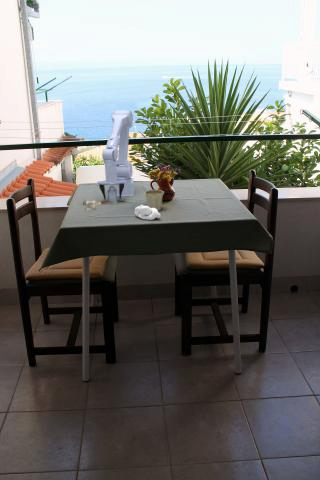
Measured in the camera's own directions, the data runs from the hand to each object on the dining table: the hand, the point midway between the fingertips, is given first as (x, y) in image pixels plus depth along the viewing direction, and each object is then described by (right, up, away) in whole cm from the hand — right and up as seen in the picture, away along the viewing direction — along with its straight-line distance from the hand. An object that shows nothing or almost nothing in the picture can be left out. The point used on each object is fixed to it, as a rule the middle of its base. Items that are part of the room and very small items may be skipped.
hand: (112, 198), depth 253 cm
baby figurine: (+19, -11, -24) cm, 32 cm away
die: (-10, -6, -10) cm, 15 cm away
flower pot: (+22, -6, -12) cm, 25 cm away
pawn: (0, -1, +1) cm, 2 cm away
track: (-6, -2, 0) cm, 7 cm away
